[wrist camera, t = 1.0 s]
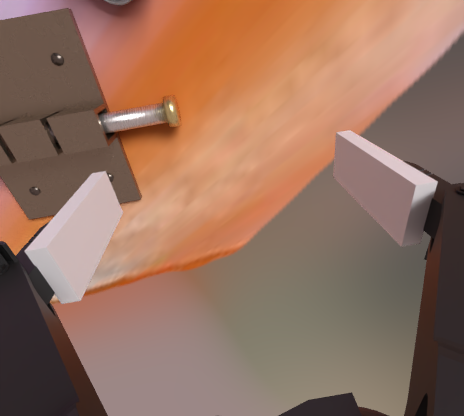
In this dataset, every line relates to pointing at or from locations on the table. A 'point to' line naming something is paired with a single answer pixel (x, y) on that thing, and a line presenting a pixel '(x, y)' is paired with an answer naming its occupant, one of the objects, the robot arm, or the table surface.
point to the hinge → (53, 116)
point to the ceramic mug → (118, 2)
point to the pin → (139, 117)
